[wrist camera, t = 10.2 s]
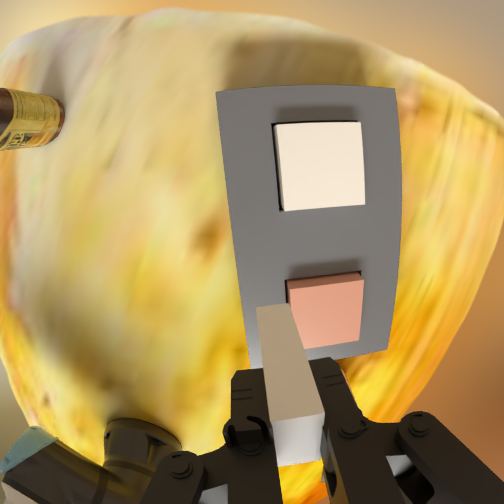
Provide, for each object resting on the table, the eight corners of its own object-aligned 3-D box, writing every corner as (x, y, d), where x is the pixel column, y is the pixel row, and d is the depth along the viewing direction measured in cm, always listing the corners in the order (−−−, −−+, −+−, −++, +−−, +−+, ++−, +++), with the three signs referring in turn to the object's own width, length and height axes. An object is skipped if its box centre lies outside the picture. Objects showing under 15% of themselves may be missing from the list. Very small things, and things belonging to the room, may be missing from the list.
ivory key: (278, 202, 28) (284, 211, 24) (271, 128, 25) (276, 124, 22) (349, 196, 28) (365, 204, 24) (345, 125, 25) (360, 122, 21)
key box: (250, 339, 37) (251, 370, 31) (221, 102, 27) (215, 91, 22) (370, 322, 37) (387, 349, 31) (369, 97, 27) (394, 88, 22)
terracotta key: (287, 328, 32) (292, 350, 29) (284, 271, 30) (289, 289, 26) (347, 320, 32) (358, 340, 28) (350, 263, 30) (363, 279, 26)
